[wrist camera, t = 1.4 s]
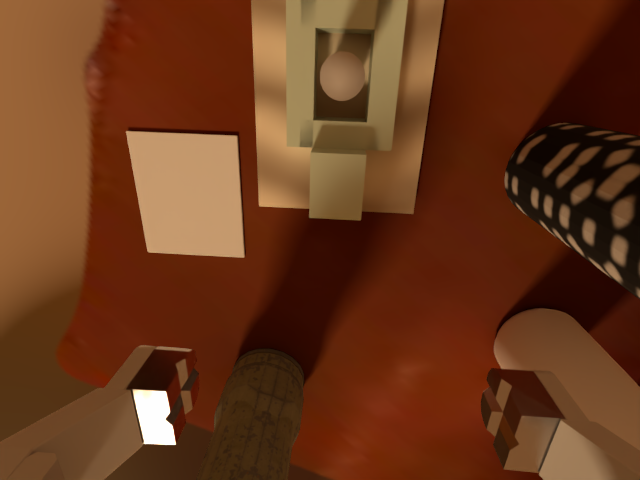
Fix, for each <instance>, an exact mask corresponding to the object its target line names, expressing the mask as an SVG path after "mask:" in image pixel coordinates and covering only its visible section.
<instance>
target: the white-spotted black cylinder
mask: <svg viewBox="0 0 640 480" xmlns="http://www.w3.org/2000/svg"><path fill="white" fill-rule="evenodd" d="M505 189H506V192H507V195H508V197H509V199H510V200H511V202H512V203H513V204H514V205H515V206H516V207H517V208H518V209H519V210H520V211H522V212H523V213H524V214H526V215H527V216H529V217H530V218H531V219H533V220H534V221H535V222H537V223H538V224H539V225H541V226H542V227H543V228H545V229H546V230H547V231H549V232H550V233H551V234H553V235H554V236H555V237H557V238H558V239H559V240H561V241H562V242H564V243H565V244H566V245H568V246H569V247H570V248H572V249H573V250H574V251H576V252H577V253H578V254H580V255H581V256H582V257H584V258H585V259H586V260H588V261H589V262H590V263H592V264H593V265H594V266H596V267H597V268H599V269H600V270H601V271H603V272H604V273H605V274H607V275H608V276H609V277H611V278H612V279H613V280H615V281H616V282H617V283H619V284H620V285H621V286H623V287H624V288H625V289H627V290H628V291H629V292H631V293H632V294H633V295H635V296H636V297H638V298H639V299H640V136H637V135H632V134H627V133H622V132H617V131H612V130H606V129H601V128H596V127H591V126H586V125H581V124H574V123H558V124H554V125H550V126H547V127H545V128H542V129H540V130H538V131H536V132H535V133H533V134H532V135H530V136H529V137H528V138H526V139H525V140H524V141H523V142H522V143H521V144H520V145H519V146H518V148H517V149H516V150H515V152H514V153H513V155H512V157H511V158H510V160H509V162H508V165H507V168H506V173H505Z"/></svg>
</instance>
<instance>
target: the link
mask: <svg viewBox="0 0 640 480" xmlns="http://www.w3.org/2000/svg"><path fill="white" fill-rule="evenodd" d="M407 5H408V0H286V107H287V147H309V148H312V150H311V153H310V200H309V218H321V219H341V220H361V214H362V202H363V190H364V179H365V167H366V152H365V150H379V151H391V149H392V140H393V131H394V122H395V113H396V104H397V95H398V86H399V77H400V68H401V59H402V50H403V41H404V32H405V23H406V14H407ZM318 33H345V34H372V35H371V47H370V60H369V73H368V86H367V98H366V111H365V118H341V117H316V97H317V59H318Z"/></svg>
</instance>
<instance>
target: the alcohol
mask: <svg viewBox="0 0 640 480" xmlns="http://www.w3.org/2000/svg"><path fill="white" fill-rule="evenodd" d="M494 354H495V357H496V359H497V361H498V363H499V365H500V367H501V369H514V370H541V371H550V372H552V373H554V374H555V376H556V377H557V378H558V380H559V381H560V382H561V384H562V385H563V386H564V388H565V389H566V390H567V392H568V393H569V394H570V396H571V397H572V398H573V400H574V401H575V402H576V404H577V405H578V406H579V408H580V409H581V410H582V412H583V413H584V414H585V416H586V417H587V418H588V420H589V421H592V422H597V423H599V424H600V425H602V426H603V427H605V428H606V429H608V430H609V431H611V432H612V433H614V434H615V435H617V436H618V437H620V438H621V439H623V440H625V441H626V442H628V443H629V444H631V445H632V446H634V447H635V448H637V449H638V450H640V387H639V386H638V384H637V383H636V382H635V381H634V380H633V379H632V378H631V377H630V376H629V375H628V374H627V373H626V372H625V371H624V370H623V369H622V368H621V367H620V366H619V365H618V364H617V363H616V362H615V361H614V360H613V359H612V357H611V356H610V355H609V354H608V353H607V352H606V351H605V350H604V349H603V348H602V347H601V346H600V345H599V344H598V343H597V342H596V341H595V340H594V339H593V338H592V337H591V336H590V335H589V334H588V333H587V331H586V330H585V329H584V328H583V327H582V326H581V325H580V324H579V323H578V322H577V321H576V320H575V319H574V318H573V317H572V316H570V315H568V314H566V313H565V312H561V311H558V310H553V309H545V308H534V309H529V310H525V311H522V312H520V313H518V314H516V315H514V316H512V317H511V318H509V319H508V320H507V321H506V322H505V323H504V324H503V325H502V326H501V328H500V329H499V331H498V334H497V336H496V339H495V343H494Z"/></svg>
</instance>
